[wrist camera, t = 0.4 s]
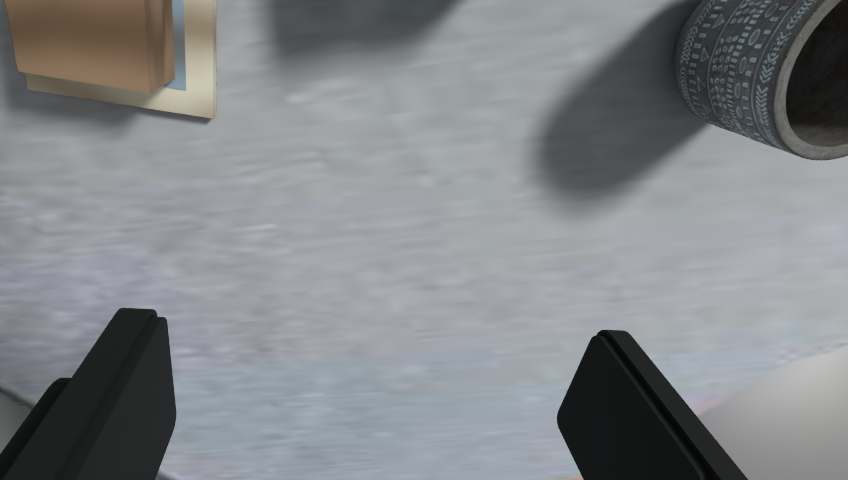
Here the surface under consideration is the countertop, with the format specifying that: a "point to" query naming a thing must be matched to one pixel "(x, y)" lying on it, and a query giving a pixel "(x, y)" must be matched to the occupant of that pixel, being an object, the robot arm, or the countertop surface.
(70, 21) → the walnut block
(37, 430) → the robot arm
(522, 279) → the countertop surface
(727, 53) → the planter
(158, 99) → the board
